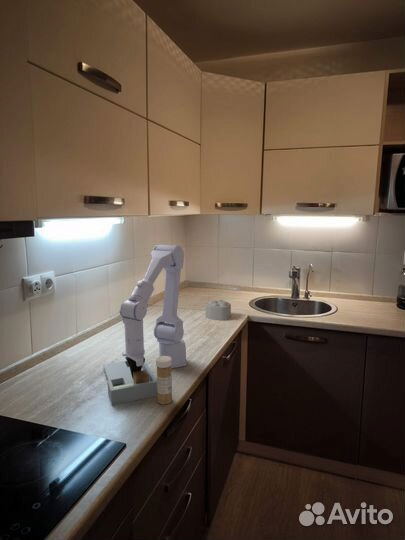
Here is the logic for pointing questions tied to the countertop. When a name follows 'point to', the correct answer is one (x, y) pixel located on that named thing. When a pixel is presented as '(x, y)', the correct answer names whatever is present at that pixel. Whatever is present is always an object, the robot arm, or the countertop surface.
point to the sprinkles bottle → (164, 379)
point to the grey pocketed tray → (127, 383)
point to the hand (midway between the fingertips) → (136, 378)
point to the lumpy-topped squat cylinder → (218, 310)
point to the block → (140, 377)
